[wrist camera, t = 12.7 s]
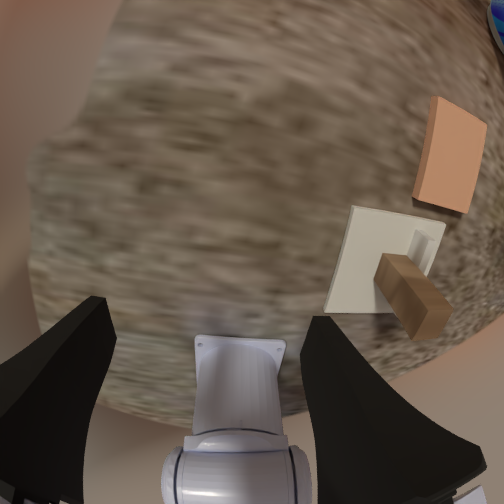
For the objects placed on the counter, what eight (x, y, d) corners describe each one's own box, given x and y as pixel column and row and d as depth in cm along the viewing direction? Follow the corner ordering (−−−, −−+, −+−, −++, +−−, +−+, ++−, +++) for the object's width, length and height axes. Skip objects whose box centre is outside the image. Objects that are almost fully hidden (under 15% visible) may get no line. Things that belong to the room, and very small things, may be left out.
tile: (408, 194, 18) (457, 208, 19) (417, 200, 17) (467, 213, 17) (428, 96, 14) (476, 122, 15) (438, 96, 13) (487, 124, 14)
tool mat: (407, 309, 23) (410, 312, 22) (323, 308, 22) (324, 312, 22) (442, 222, 19) (446, 224, 18) (351, 205, 18) (354, 207, 18)
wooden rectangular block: (394, 302, 22) (429, 360, 15) (364, 302, 21) (396, 365, 15) (422, 230, 18) (476, 278, 12) (391, 224, 18) (444, 276, 12)
